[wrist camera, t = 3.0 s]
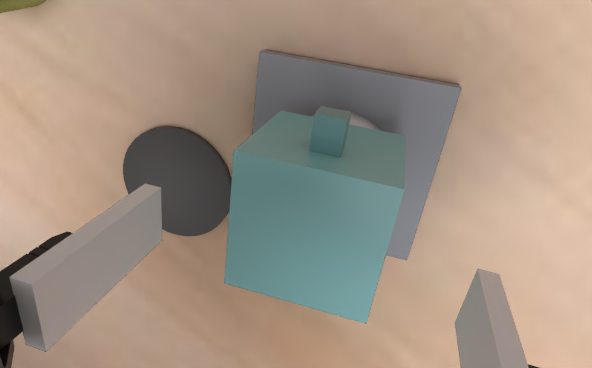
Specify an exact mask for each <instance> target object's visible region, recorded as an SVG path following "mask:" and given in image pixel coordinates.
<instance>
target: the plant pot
mask: <svg viewBox="0 0 592 368" xmlns="http://www.w3.org/2000/svg"><path fill="white" fill-rule="evenodd" d="M44 1H45V0H0V13H2V12H7V11H13V10H18V9H23V8H27V7H33V6H36V5H39V4H41V3H42V2H44Z"/></svg>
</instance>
